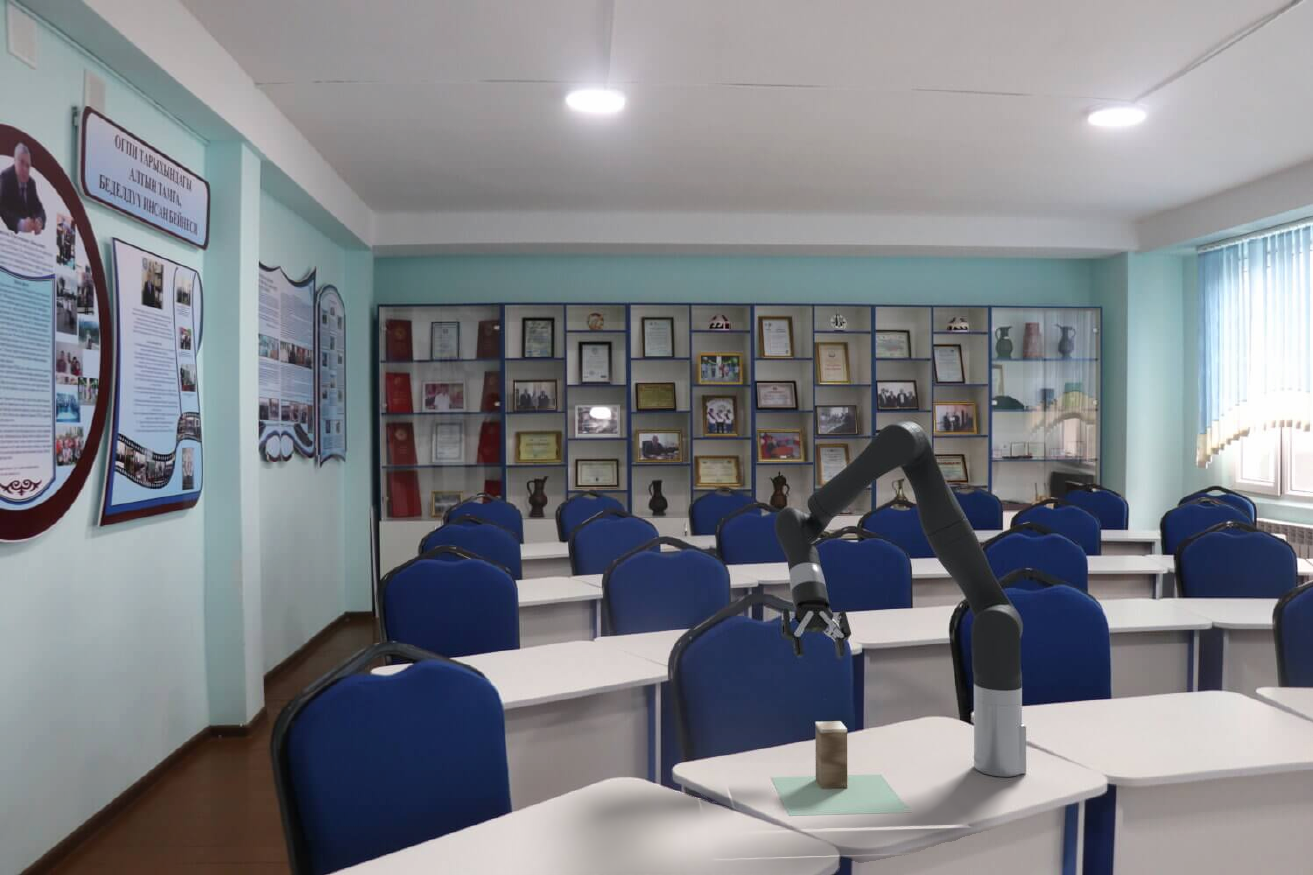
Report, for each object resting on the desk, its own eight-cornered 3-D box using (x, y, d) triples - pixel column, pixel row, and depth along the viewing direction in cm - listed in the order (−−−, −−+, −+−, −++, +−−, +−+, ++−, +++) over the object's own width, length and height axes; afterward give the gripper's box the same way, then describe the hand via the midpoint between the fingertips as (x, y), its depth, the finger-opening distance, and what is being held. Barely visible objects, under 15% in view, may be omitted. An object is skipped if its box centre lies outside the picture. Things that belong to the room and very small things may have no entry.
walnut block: (840, 778, 189) (840, 720, 189) (847, 788, 184) (847, 728, 184) (815, 779, 189) (815, 721, 189) (821, 789, 184) (821, 729, 184)
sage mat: (880, 776, 192) (880, 774, 192) (911, 814, 173) (911, 812, 173) (770, 779, 191) (770, 777, 191) (789, 818, 172) (789, 815, 172)
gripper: (780, 578, 205) (792, 647, 195) (845, 580, 208) (859, 648, 197) (772, 596, 211) (782, 664, 201) (835, 598, 213) (848, 666, 203)
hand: (820, 656), depth 199 cm, fingers open, 8 cm apart
